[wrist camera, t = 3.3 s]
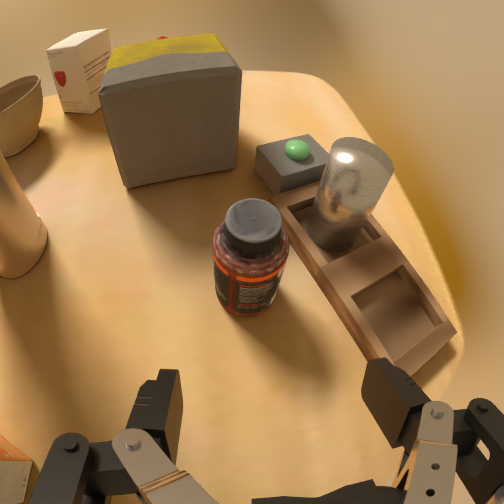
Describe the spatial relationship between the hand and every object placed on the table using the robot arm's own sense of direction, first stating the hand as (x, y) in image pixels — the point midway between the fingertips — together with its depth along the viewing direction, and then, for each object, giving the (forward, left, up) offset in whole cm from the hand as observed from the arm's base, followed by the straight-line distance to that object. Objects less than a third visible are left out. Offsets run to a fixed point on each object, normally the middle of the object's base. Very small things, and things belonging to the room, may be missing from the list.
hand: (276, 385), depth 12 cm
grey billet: (+17, +12, -14) cm, 25 cm away
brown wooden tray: (+17, +6, -15) cm, 23 cm away
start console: (+18, +22, -15) cm, 32 cm away
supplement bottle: (+5, +10, -15) cm, 19 cm away
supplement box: (-5, +59, -15) cm, 61 cm away
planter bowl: (-21, +55, -15) cm, 61 cm away
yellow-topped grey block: (+7, +39, -15) cm, 43 cm away
